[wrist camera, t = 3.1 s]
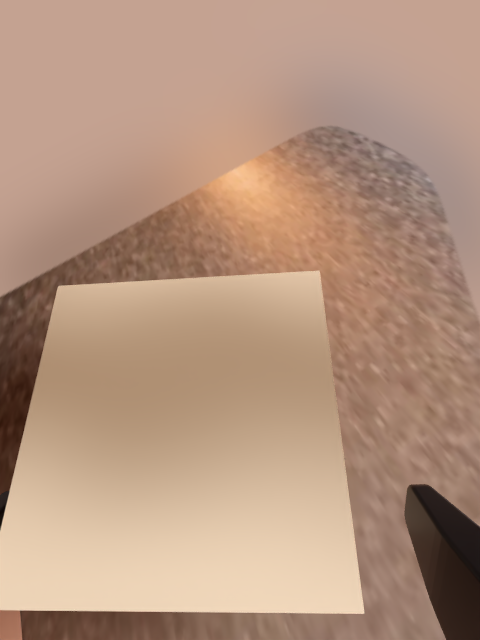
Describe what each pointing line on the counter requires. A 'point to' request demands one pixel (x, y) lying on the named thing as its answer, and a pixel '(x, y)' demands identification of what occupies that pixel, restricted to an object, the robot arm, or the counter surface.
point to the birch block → (183, 454)
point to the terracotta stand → (10, 625)
